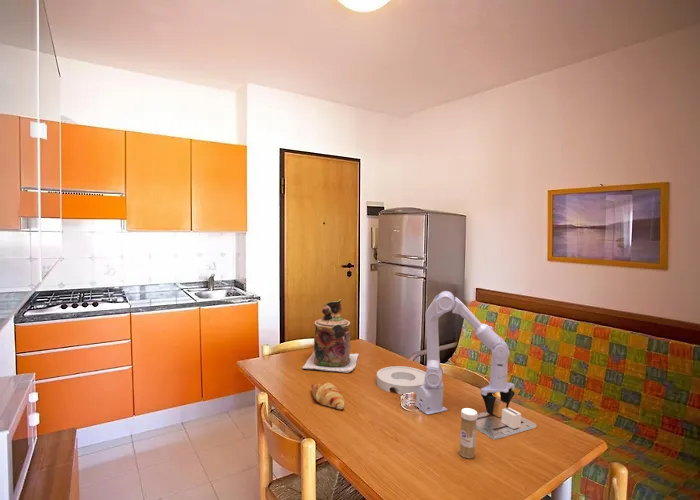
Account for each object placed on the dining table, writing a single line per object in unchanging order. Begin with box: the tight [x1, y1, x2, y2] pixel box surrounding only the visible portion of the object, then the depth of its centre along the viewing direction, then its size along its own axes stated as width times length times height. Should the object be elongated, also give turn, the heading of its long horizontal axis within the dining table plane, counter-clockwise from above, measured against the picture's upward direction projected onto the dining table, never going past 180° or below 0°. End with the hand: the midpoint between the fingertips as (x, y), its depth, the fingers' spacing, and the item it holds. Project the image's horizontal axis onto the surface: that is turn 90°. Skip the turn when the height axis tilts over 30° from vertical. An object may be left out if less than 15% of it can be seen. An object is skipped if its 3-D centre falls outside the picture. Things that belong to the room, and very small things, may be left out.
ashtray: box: [376, 365, 426, 396], centre depth 170 cm, size 23×23×4 cm
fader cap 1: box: [492, 397, 506, 417], centre depth 141 cm, size 4×5×5 cm
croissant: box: [310, 381, 346, 410], centre depth 151 cm, size 21×10×8 cm, turn 38°
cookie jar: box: [302, 299, 360, 374], centre depth 192 cm, size 25×25×32 cm
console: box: [476, 410, 537, 441], centre depth 136 cm, size 20×15×1 cm
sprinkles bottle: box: [458, 407, 478, 460], centre depth 116 cm, size 5×5×14 cm
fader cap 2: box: [501, 407, 522, 429], centre depth 133 cm, size 4×5×5 cm
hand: (496, 411), depth 141 cm, fingers open, 7 cm apart
